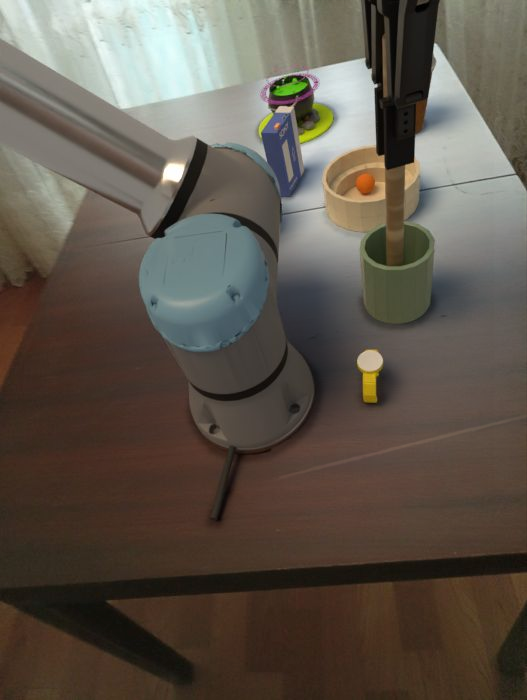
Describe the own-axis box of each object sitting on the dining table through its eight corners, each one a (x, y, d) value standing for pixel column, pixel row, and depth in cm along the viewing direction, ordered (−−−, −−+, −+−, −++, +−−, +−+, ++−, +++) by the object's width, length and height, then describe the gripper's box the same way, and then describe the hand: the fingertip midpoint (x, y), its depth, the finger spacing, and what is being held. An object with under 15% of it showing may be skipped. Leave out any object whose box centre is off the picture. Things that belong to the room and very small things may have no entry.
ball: (377, 194, 79) (377, 177, 77) (359, 199, 79) (358, 183, 77) (372, 183, 81) (371, 167, 79) (354, 188, 81) (353, 172, 79)
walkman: (289, 197, 85) (276, 130, 75) (274, 196, 86) (259, 130, 76) (305, 169, 89) (294, 103, 79) (291, 169, 90) (278, 103, 80)
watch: (361, 367, 61) (358, 337, 56) (385, 368, 60) (384, 337, 55) (358, 410, 57) (355, 381, 53) (383, 411, 56) (382, 382, 52)
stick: (405, 270, 60) (411, 35, 40) (389, 274, 60) (386, 42, 40) (400, 259, 61) (402, 26, 41) (384, 263, 61) (379, 33, 41)
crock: (440, 316, 63) (446, 257, 55) (375, 333, 63) (372, 277, 56) (416, 273, 68) (419, 213, 60) (356, 289, 69) (351, 232, 61)
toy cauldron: (249, 121, 103) (236, 66, 95) (317, 96, 104) (309, 39, 95) (271, 154, 94) (259, 96, 85) (345, 127, 94) (340, 66, 86)
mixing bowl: (432, 219, 74) (434, 184, 69) (339, 245, 75) (335, 212, 70) (400, 169, 83) (400, 135, 78) (317, 192, 84) (313, 160, 79)
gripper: (511, -193, 26) (463, 188, 44) (411, -207, 36) (406, 112, 54) (371, -149, 27) (381, 211, 45) (310, -174, 36) (338, 131, 54)
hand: (394, 157), depth 49 cm, fingers closed on stick, 2 cm apart
